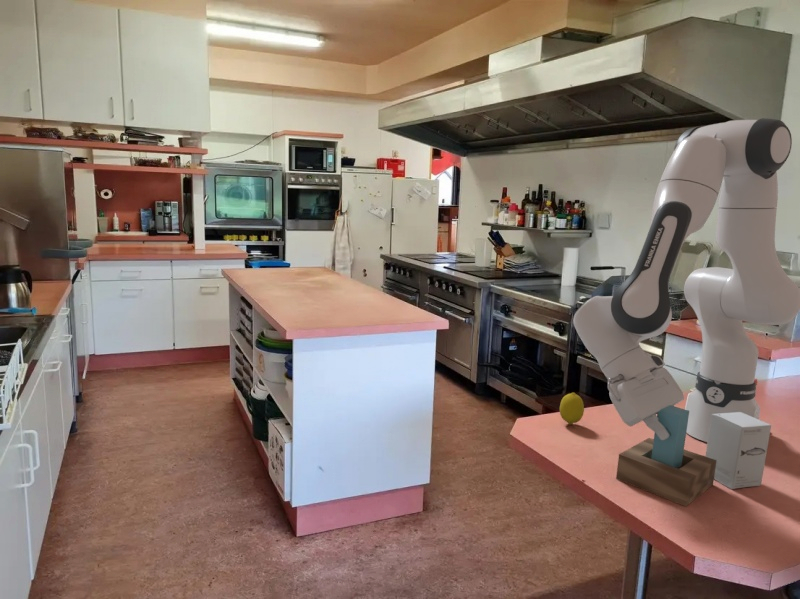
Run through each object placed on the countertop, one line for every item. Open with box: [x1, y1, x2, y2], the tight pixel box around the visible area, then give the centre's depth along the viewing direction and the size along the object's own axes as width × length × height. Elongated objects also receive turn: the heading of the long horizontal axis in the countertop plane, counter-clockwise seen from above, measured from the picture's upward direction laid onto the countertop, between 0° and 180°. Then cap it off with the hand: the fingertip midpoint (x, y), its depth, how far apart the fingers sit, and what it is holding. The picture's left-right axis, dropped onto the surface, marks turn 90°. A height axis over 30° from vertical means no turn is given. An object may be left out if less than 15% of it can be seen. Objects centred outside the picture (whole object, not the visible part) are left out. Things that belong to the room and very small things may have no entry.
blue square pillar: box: [651, 405, 689, 468], centre depth 109 cm, size 4×4×11 cm
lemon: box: [559, 392, 585, 426], centre depth 137 cm, size 6×6×8 cm
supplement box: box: [704, 412, 772, 490], centre depth 112 cm, size 7×7×13 cm
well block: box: [615, 437, 717, 508], centre depth 110 cm, size 13×13×5 cm
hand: (673, 434), depth 108 cm, fingers closed on blue square pillar, 4 cm apart
